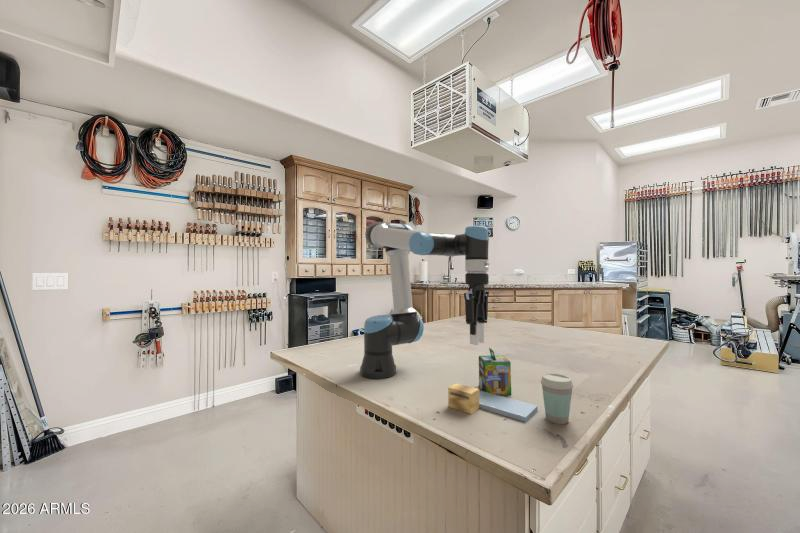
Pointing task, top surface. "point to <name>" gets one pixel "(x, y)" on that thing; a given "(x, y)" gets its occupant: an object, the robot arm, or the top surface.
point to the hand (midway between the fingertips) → (477, 343)
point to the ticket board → (506, 406)
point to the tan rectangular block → (463, 398)
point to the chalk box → (495, 374)
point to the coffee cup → (557, 397)
